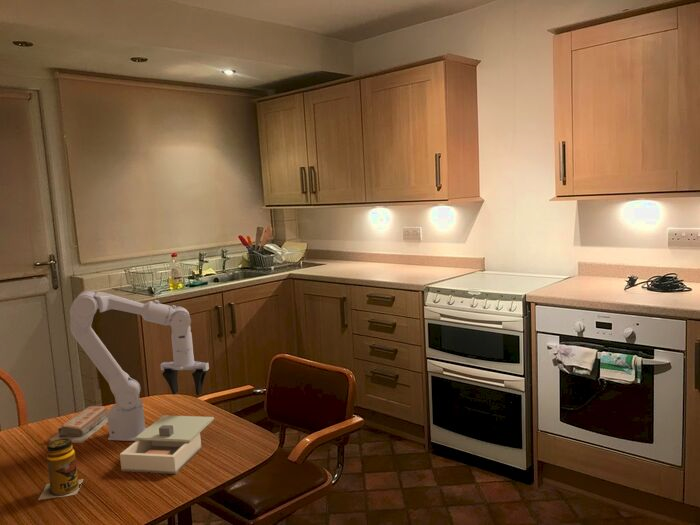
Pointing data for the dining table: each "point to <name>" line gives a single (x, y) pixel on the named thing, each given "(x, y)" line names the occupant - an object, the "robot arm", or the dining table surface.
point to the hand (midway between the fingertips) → (187, 393)
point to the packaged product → (83, 424)
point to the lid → (175, 428)
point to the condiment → (61, 470)
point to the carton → (159, 455)
